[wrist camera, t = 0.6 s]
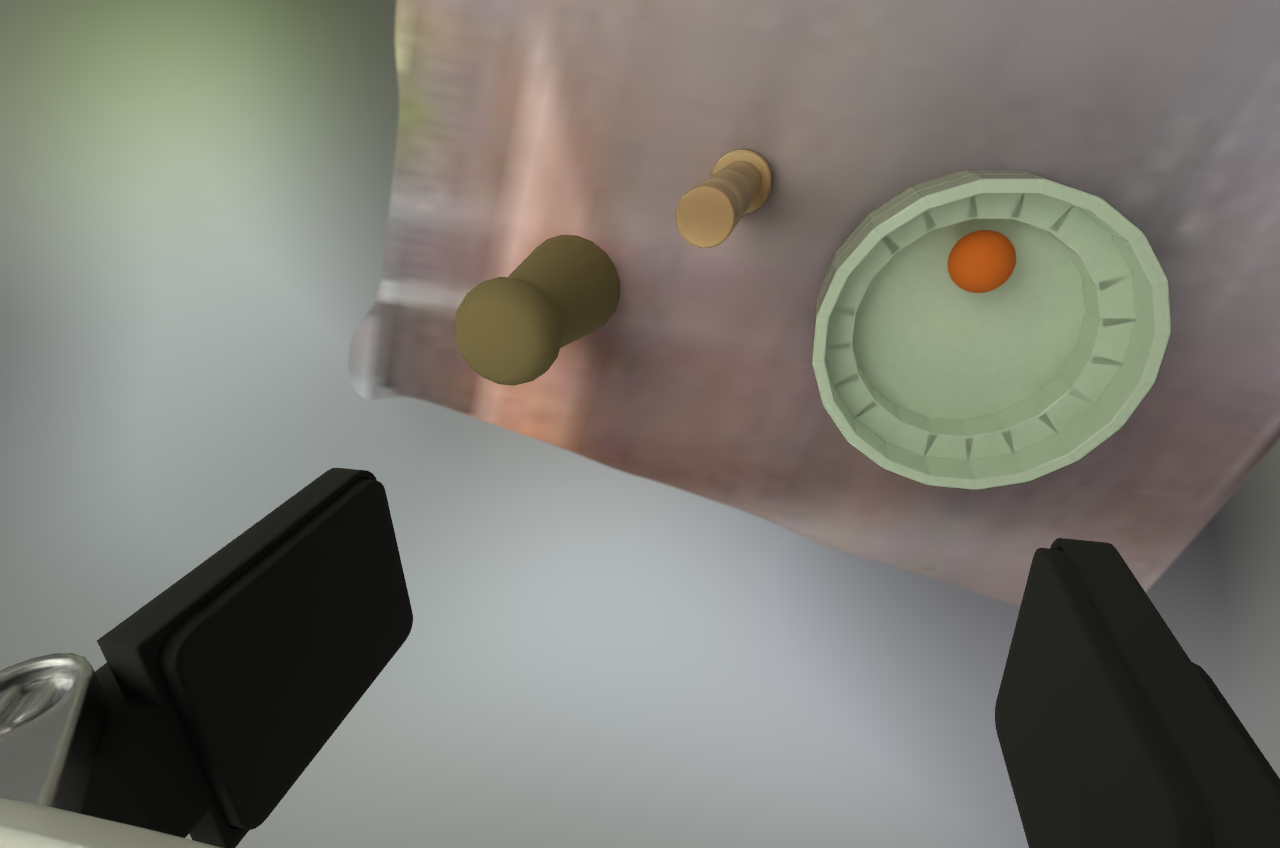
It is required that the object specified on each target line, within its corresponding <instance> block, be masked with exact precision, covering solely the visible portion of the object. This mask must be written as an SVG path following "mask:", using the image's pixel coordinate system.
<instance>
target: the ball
mask: <svg viewBox="0 0 1280 848" xmlns="http://www.w3.org/2000/svg"><path fill="white" fill-rule="evenodd" d="M947 265H948V272H949V275H950V277H951V279H952V281H953V282H954V283H955V284H956V285H957V286H958V287H960V288H961V289H963V290H965V291H968V292H972V293H985V292H989V291H992V290H994V289H996V288H998V287H1000V286H1001V285H1003V284H1004V283H1005V282H1006V281H1007V280H1008V279H1009V277H1010V276H1011V274H1012V273H1013V271H1014V268H1015V265H1016V251H1015V248H1014V246H1013V244H1012V243H1011V241H1010V240H1009V239H1008V238H1007V237H1006V236H1004V235H1003V234H1001V233H999V232H996V231H992V230H979V231H975V232H972V233H969V234H967V235H965V236H964V237H962V238H961V239H960V240H959V241H958V242H957V243H956V244H955V245H954V247H953V248H952V250H951V252H950V254H949V257H948V264H947Z"/></svg>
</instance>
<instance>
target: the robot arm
mask: <svg viewBox="0 0 1280 848" xmlns="http://www.w3.org/2000/svg"><path fill="white" fill-rule="evenodd" d="M412 623H413V614H412V609H411V605H410V600H409V596H408V591H407V587H406V582H405V578H404V574H403V569H402V564H401V560H400V555H399V551H398V547H397V542H396V537H395V533H394V528H393V524H392V519H391V515H390V510H389V506H388V501H387V497H386V493H385V489H384V486H383V485H382V484H381V483H380V482H378V481H377V480H376V477H375V476H374V475H373V474H372V473H371V472H369V471H364V470H354V469H343V468H332V469H330V470H328V471H327V472H325V473H324V474H322V475H321V476H320V477H319V478H317V479H316V480H314V481H313V482H312V483H310V484H309V485H308V486H306V487H305V488H303V489H302V490H301V491H299V492H298V493H297V494H295V495H294V496H293V497H291V498H290V499H288V500H287V501H286V502H284V503H283V504H282V505H280V506H279V507H278V508H276V509H275V510H274V511H272V512H271V513H269V514H268V515H267V516H266V517H264V518H263V519H262V520H260V521H259V522H257V523H256V524H255V525H253V526H252V527H251V528H249V529H248V530H247V531H245V532H244V533H243V534H241V535H240V536H238V537H237V538H236V539H234V540H233V541H232V542H230V543H229V544H227V545H226V546H225V547H223V548H222V549H221V550H219V551H218V552H217V553H215V554H214V555H213V556H211V557H210V558H208V559H207V560H206V561H204V562H203V563H202V564H200V565H199V566H198V567H196V568H195V569H194V570H192V571H191V572H190V573H188V574H187V575H185V576H184V577H183V578H182V579H180V580H179V581H177V582H176V583H175V584H173V585H172V586H170V587H169V588H168V589H167V590H165V591H164V592H162V593H161V594H160V595H158V596H157V597H156V598H154V599H153V600H151V601H150V602H149V603H148V604H146V605H145V606H143V607H142V608H141V609H139V610H138V611H137V612H135V613H134V614H133V615H131V616H130V617H129V618H127V619H126V620H124V621H123V622H122V623H120V624H119V625H118V626H116V627H115V628H114V629H112V630H111V631H109V632H108V633H107V634H105V635H104V636H103V637H101V638H100V639H99V640H97V642H98V644H99V646H100V648H101V650H102V652H103V655H104V656H105V658H106V660H107V663H106V664H104V665H103V666H102V667H101V668H99V669H98V670H97V671H96V672H94V670H93V668H92V666H91V664H90V663H89V662H88V661H87V659H86V658H85V657H82V656H79V655H76V654H72V653H69V654H68V653H66V654H51V655H46V656H41V657H36V658H32V659H29V660H26V661H23V662H20V663H18V664H15V665H12V666H9V667H7V668H5V669H3V670H1V671H0V848H235V847H236V846H237V845H238V844H239V842H240V841H241V839H242V838H243V837H244V836H245V835H246V833H247V832H248V831H249V830H251V829H254V828H256V827H258V826H259V825H261V824H262V823H263V822H264V821H265V820H266V818H267V817H268V816H269V815H270V813H271V812H272V811H273V809H274V808H275V807H276V806H277V804H278V803H279V802H280V800H281V799H282V798H283V797H284V795H285V794H286V793H287V791H288V790H289V789H290V788H291V786H292V785H293V784H294V783H295V781H296V780H297V779H298V777H299V776H300V775H301V774H302V772H303V771H304V770H305V768H306V767H307V766H308V765H309V763H310V762H311V761H312V760H313V758H314V757H315V756H316V754H317V753H318V752H319V751H320V749H321V748H322V747H323V745H324V744H325V743H326V742H327V740H328V739H329V738H330V736H331V735H332V734H333V733H334V731H335V730H336V729H337V727H338V726H339V725H340V724H341V722H342V721H343V720H344V718H345V717H346V716H347V714H348V713H349V712H350V711H351V709H352V708H353V707H354V706H355V704H356V703H357V702H358V700H359V699H360V698H361V697H362V695H363V694H364V693H365V692H366V690H367V689H368V688H369V686H370V685H371V684H372V683H373V681H374V680H375V679H376V677H377V676H378V675H379V674H380V672H381V671H382V670H383V668H384V667H385V666H386V665H387V663H388V662H389V661H390V659H391V658H392V657H393V656H394V654H395V653H396V652H397V650H398V649H399V648H400V647H401V645H402V644H403V643H404V642H405V640H406V639H407V637H408V635H409V633H410V631H411V628H412ZM995 722H996V730H997V735H998V738H999V742H1000V745H1001V749H1002V752H1003V756H1004V760H1005V763H1006V767H1007V770H1008V774H1009V778H1010V781H1011V785H1012V788H1013V792H1014V795H1015V799H1016V802H1017V806H1018V810H1019V813H1020V817H1021V820H1022V823H1023V828H1024V831H1025V835H1026V838H1027V842H1028V845H1029V848H1280V779H1279V777H1278V776H1277V774H1276V773H1275V772H1274V770H1273V769H1272V767H1271V766H1270V764H1269V763H1268V761H1267V760H1266V759H1265V757H1264V755H1263V754H1262V752H1261V751H1260V749H1259V748H1258V747H1257V745H1256V744H1255V742H1254V741H1253V739H1252V738H1251V737H1250V735H1249V733H1248V732H1247V731H1246V729H1245V727H1244V726H1243V725H1242V723H1241V722H1240V720H1239V719H1238V717H1237V716H1236V714H1235V713H1234V711H1233V710H1232V708H1231V707H1230V706H1229V704H1228V703H1227V701H1226V700H1225V698H1224V697H1223V695H1222V694H1221V692H1220V691H1219V689H1218V688H1217V686H1216V685H1215V683H1214V682H1213V681H1212V679H1211V678H1210V677H1209V675H1208V674H1207V673H1206V672H1205V671H1204V670H1203V669H1202V668H1201V667H1200V666H1198V665H1196V664H1194V663H1193V662H1191V661H1190V659H1189V658H1188V656H1187V655H1186V653H1185V652H1184V650H1183V649H1182V647H1181V646H1180V644H1179V643H1178V641H1177V640H1176V638H1175V637H1174V635H1173V634H1172V632H1171V631H1170V629H1169V628H1168V626H1167V625H1166V623H1165V622H1164V620H1163V619H1162V617H1161V616H1160V614H1159V612H1158V611H1157V609H1156V608H1155V606H1154V605H1153V603H1152V602H1151V601H1150V599H1149V597H1148V596H1147V594H1146V593H1145V591H1144V590H1143V588H1142V587H1141V585H1140V584H1139V582H1138V581H1137V579H1136V578H1135V576H1134V575H1133V573H1132V572H1131V570H1130V569H1129V567H1128V566H1127V564H1126V563H1125V561H1124V560H1123V558H1122V557H1121V555H1120V554H1119V552H1118V551H1117V549H1116V548H1115V547H1114V546H1113V545H1112V544H1109V543H1104V542H1094V541H1084V540H1073V539H1063V538H1058V539H1056V540H1055V541H1054V542H1053V544H1052V545H1051V548H1050V549H1048V548H1039V549H1037V550H1036V552H1035V554H1034V557H1033V560H1032V564H1031V568H1030V572H1029V576H1028V580H1027V584H1026V588H1025V592H1024V595H1023V599H1022V603H1021V607H1020V611H1019V615H1018V619H1017V623H1016V627H1015V631H1014V635H1013V638H1012V643H1011V646H1010V650H1009V654H1008V658H1007V662H1006V666H1005V670H1004V674H1003V678H1002V681H1001V685H1000V689H999V694H998V697H997V701H996V707H995ZM188 834H190V835H191V838H192V840H189V839H185V837H186V836H187V835H188Z"/></svg>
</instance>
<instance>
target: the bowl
mask: <svg viewBox="0 0 1280 848" xmlns="http://www.w3.org/2000/svg"><path fill="white" fill-rule="evenodd" d="M979 230H992V231H996V232H999V233H1001V234H1003V235H1004V236H1006V237H1007V238H1008V239H1009V240H1010V241H1011V243H1012V244H1013V246H1014V248H1015V251H1016V265H1015V268H1014V271H1013V273H1012V274H1011V276H1010V277H1009V279H1008V280H1007V281H1006V282H1005V283H1004V284H1003V285H1001V286H1000V287H998V288H996V289H994V290H992V291H989V292H985V293H972V292H968V291H965V290H963V289H961V288H960V287H958V286H957V285H956V284H955V283H954V282H953V281H952V279H951V277H950V275H949V272H948V265H947V264H948V257H949V254H950V252H951V250H952V248H953V247H954V245H955V244H956V243H957V242H958V241H959V240H960V239H961V238H962V237H964V236H965V235H967V234H969V233H972V232H975V231H979ZM1167 280H1168V279H1167V277H1166V275H1165V273H1164V271H1163V269H1162V267H1161V265H1160V263H1159V261H1158V259H1157V257H1156V255H1155V253H1154V251H1153V249H1152V247H1151V245H1150V244H1149V242H1148V240H1147V238H1146V236H1145V234H1144V233H1143V232H1142V231H1141V230H1140V229H1139V228H1137V227H1136V226H1135V225H1134V224H1133V223H1131V222H1130V221H1129V220H1128V219H1127V218H1125V217H1124V216H1123V215H1122V214H1121V213H1119V212H1118V211H1117V210H1116V209H1114V208H1113V207H1112V206H1111V205H1110V204H1108V203H1107V202H1106V201H1105V200H1104V199H1102V198H1100V197H1098V196H1095V195H1092V194H1089V193H1087V192H1084V191H1081V190H1078V189H1075V188H1072V187H1069V186H1066V185H1063V184H1060V183H1057V182H1054V181H1051V180H1048V179H1045V178H1042V177H1039V176H1036V175H1033V174H1030V173H1027V172H1024V171H1021V170H1020V171H1019V170H965V171H964V170H963V171H959V172H956V173H953V174H950V175H946V176H943V177H940V178H937V179H933V180H930V181H927V182H923V183H920V184H917V185H914V186H913V187H912V186H911V187H910V188H908V189H907V190H905V191H904V192H902V193H900V194H899V195H897V196H896V197H894V198H893V199H891V200H890V201H888V202H887V203H885V204H884V205H882V206H881V207H879V208H877V209H876V210H874V211H873V212H871V213H870V214H868V216H866V218H865V219H864V220H863V221H862V222H861V223H860V225H859V226H858V227H857V228H856V229H855V230H854V231H853V233H852V234H851V235H850V236H849V237H848V238H847V240H846V241H845V242H844V243H843V244H842V245H841V247H840V248H839V249H838V250H837V251H836V253H835V254H834V257H833V259H832V261H831V264H830V266H829V268H828V270H827V273H826V275H825V277H824V280H823V282H822V284H821V286H820V289H819V291H818V293H817V299H816V310H815V321H814V332H813V353H812V364H813V368H814V372H815V376H816V380H817V384H818V388H819V392H820V396H821V400H822V403H823V406H824V407H825V409H826V410H827V412H828V413H829V415H830V416H831V418H832V419H833V421H834V422H835V424H836V425H837V427H838V428H839V430H840V431H841V433H842V434H843V436H844V437H845V439H846V440H847V441H848V442H849V443H850V444H852V445H853V446H854V447H856V448H857V449H858V450H859V451H861V452H862V453H863V454H865V455H866V456H867V457H869V458H870V459H871V460H872V461H874V462H875V463H876V464H878V465H879V466H880V467H882V468H884V469H886V470H888V471H891V472H894V473H896V474H899V475H902V476H904V477H907V478H910V479H912V480H915V481H918V482H920V483H923V484H927V485H932V486H943V487H953V488H963V489H974V490H975V489H984V488H991V487H997V486H1004V485H1010V484H1017V483H1023V482H1027V481H1031V480H1034V479H1036V478H1038V477H1041V476H1043V475H1045V474H1048V473H1050V472H1053V471H1055V470H1057V469H1060V468H1062V467H1065V466H1067V465H1069V464H1072V463H1074V462H1076V461H1078V460H1080V459H1081V458H1082V457H1084V456H1085V455H1086V454H1088V453H1089V452H1090V451H1092V450H1093V449H1094V448H1096V447H1097V446H1098V445H1099V444H1101V443H1102V442H1103V441H1105V440H1106V439H1107V438H1109V437H1110V436H1111V435H1113V434H1114V433H1115V432H1117V431H1118V430H1119V429H1120V428H1121V427H1122V426H1123V425H1124V424H1125V423H1126V421H1127V420H1128V419H1129V417H1130V416H1131V415H1132V413H1133V412H1134V411H1135V409H1136V408H1137V406H1138V405H1139V404H1140V402H1141V401H1142V400H1143V398H1144V397H1145V396H1146V394H1147V393H1148V392H1149V390H1150V389H1151V388H1152V386H1153V385H1154V383H1155V381H1156V378H1157V375H1158V371H1159V368H1160V365H1161V362H1162V359H1163V356H1164V353H1165V350H1166V347H1167V344H1168V341H1169V338H1170V335H1171V333H1170V332H1171V321H1170V304H1169V287H1168V281H1167Z"/></svg>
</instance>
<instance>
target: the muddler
mask: <svg viewBox="0 0 1280 848" xmlns="http://www.w3.org/2000/svg"><path fill="white" fill-rule="evenodd" d="M771 187H772V172H771V169H770V166H769V164H768V163H767V161H766V160H765V159H764V158H763V157H762V156H761V155H760V154H759V153H757V152H755V151H752V150H748V149H738V150H734V151H732V152H730V153H728V154H726V155H724V156H723V157H722V158H721V159H719V161H718V162H717V163H716V164H715V166H714V168H713V170H712V172H711V176H710V177H709V178H708V179H706V180H705V181H703V182H702V183H700V184H699V185H697V186H695V187H694V188H692V189H691V190H689V191H688V192H687V193H686V194H685V195H684V196H683V197H682V198H681V200H680V201H679V203H678V206H677V209H676V216H675V218H676V225H677V228H678V231H679V233H680V234H681V236H682V237H683V238H684V239H685V240H686V241H687V242H688V243H690V244H692V245H694V246H696V247H700V248H710V247H714V246H717V245H719V244H720V243H722V242H723V241H724V240H726V239H727V237H728V236H729V235H730V233H731V232H732V231H733V229H734V228H735V226H736V225H737V223H738V222H739V221H740V219H741V218H742V216H743V215H744V214H748V213H751V212H753V211H755V210H756V209H758V208H759V207H760V206H761V205H762V204H763V203H764V202H765V200H766V199H767V197H768V195H769V193H770V190H771Z"/></svg>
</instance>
